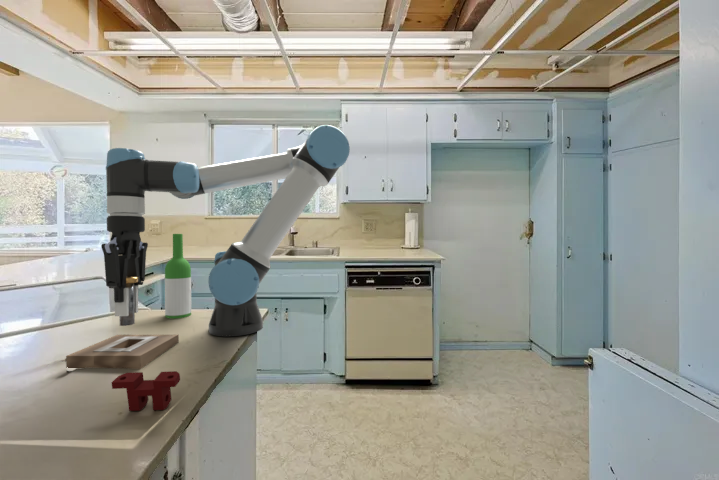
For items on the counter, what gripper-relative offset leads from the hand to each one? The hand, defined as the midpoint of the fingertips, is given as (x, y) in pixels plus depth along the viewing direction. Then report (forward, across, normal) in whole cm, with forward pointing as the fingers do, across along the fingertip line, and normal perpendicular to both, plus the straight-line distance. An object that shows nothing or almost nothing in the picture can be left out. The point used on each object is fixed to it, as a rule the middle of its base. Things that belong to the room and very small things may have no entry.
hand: (126, 313), depth 83 cm
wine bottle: (+11, -33, -5) cm, 35 cm away
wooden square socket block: (+11, 0, 0) cm, 11 cm away
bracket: (+8, +24, +14) cm, 29 cm away
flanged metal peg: (+2, 0, 0) cm, 2 cm away
